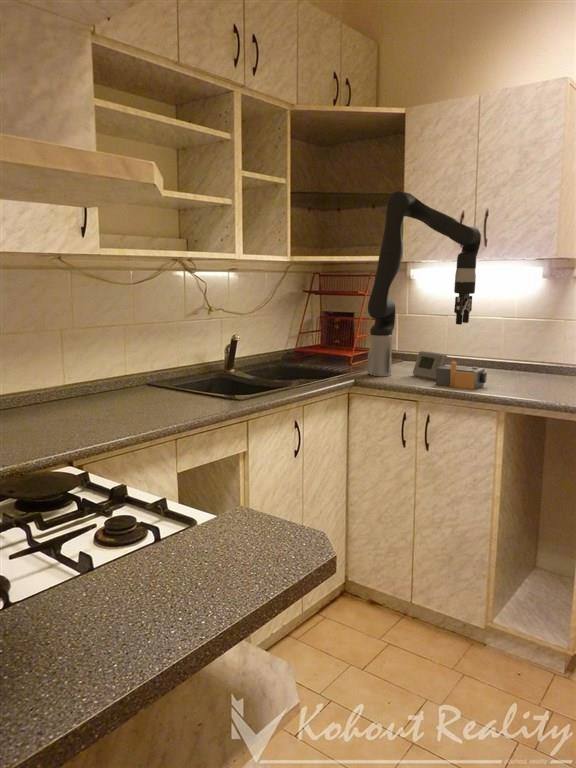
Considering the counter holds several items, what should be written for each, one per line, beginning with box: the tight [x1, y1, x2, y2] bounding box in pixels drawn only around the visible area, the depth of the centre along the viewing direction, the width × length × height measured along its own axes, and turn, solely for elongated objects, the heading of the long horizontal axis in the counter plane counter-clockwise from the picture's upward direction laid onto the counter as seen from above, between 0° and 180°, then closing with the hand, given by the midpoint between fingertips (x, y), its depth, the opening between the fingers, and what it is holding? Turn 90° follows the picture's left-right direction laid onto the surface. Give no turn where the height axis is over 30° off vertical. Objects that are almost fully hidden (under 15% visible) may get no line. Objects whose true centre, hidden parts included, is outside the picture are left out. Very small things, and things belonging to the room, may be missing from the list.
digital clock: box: [412, 350, 448, 381], centre depth 251 cm, size 16×9×11 cm, turn 17°
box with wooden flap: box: [435, 364, 488, 389], centre depth 234 cm, size 18×9×7 cm, turn 57°
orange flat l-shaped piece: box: [449, 361, 478, 390], centre depth 228 cm, size 10×2×10 cm, turn 59°
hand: (462, 323), depth 231 cm, fingers open, 8 cm apart
